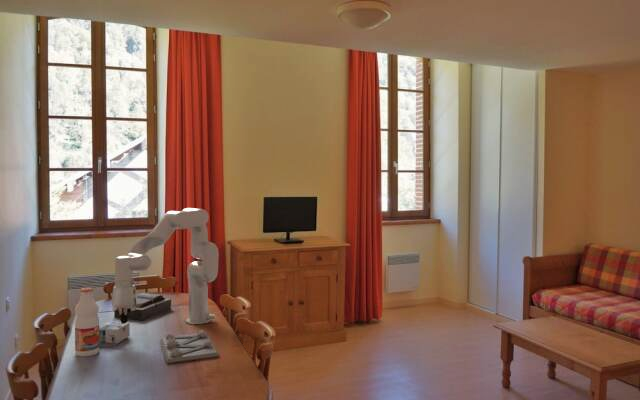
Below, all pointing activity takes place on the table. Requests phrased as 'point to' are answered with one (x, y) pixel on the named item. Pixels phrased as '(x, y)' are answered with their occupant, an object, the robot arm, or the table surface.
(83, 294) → the fruit juice
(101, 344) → the mat
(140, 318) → the dark grey open box
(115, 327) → the light bulb box
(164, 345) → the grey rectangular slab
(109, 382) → the table surface
